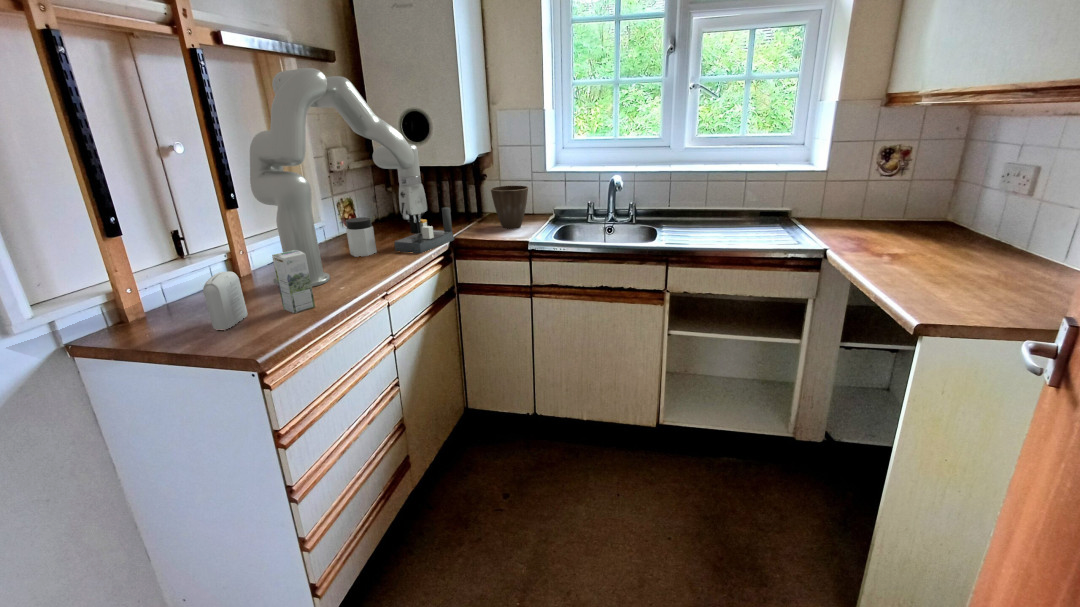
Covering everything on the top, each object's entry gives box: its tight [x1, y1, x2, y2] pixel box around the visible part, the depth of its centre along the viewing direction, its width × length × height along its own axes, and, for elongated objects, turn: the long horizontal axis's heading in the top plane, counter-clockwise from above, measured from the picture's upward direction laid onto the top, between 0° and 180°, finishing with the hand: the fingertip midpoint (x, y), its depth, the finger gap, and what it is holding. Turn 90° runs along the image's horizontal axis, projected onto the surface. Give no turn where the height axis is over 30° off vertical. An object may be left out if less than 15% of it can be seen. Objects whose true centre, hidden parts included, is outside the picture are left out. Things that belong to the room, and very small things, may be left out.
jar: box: [345, 217, 377, 258], centre depth 180 cm, size 9×8×12 cm
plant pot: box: [490, 185, 529, 230], centre depth 211 cm, size 15×15×16 cm
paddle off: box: [421, 225, 434, 239], centre depth 183 cm, size 2×3×4 cm
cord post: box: [441, 206, 455, 241], centre depth 195 cm, size 4×4×12 cm
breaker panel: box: [393, 229, 454, 254], centre depth 189 cm, size 20×11×4 cm, turn 155°
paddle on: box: [418, 218, 428, 234], centre depth 191 cm, size 2×3×5 cm
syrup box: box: [272, 250, 316, 314], centre depth 130 cm, size 6×6×14 cm
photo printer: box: [202, 270, 248, 330], centre depth 122 cm, size 10×4×12 cm, turn 3°
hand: (415, 232), depth 189 cm, fingers closed
